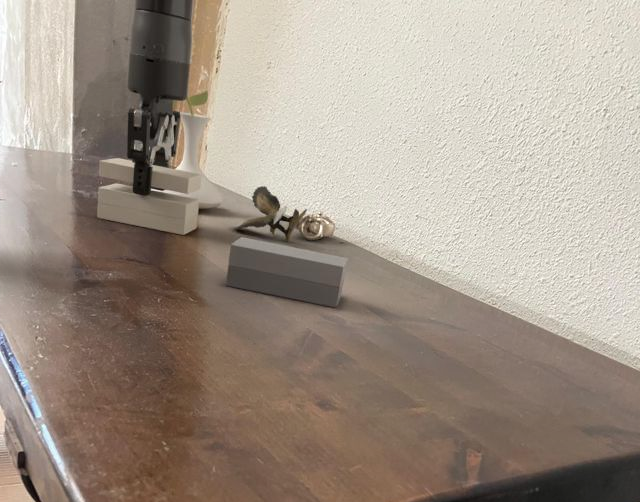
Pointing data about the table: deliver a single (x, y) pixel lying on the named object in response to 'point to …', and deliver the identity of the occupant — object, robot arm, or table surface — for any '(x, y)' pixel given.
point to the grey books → (286, 271)
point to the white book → (160, 175)
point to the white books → (148, 209)
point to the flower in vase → (196, 152)
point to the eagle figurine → (271, 213)
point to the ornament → (315, 226)
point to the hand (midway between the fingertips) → (149, 191)
